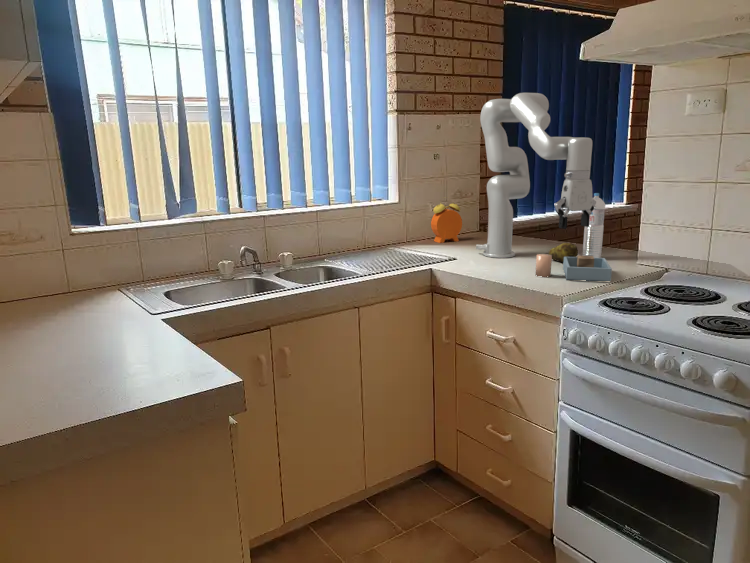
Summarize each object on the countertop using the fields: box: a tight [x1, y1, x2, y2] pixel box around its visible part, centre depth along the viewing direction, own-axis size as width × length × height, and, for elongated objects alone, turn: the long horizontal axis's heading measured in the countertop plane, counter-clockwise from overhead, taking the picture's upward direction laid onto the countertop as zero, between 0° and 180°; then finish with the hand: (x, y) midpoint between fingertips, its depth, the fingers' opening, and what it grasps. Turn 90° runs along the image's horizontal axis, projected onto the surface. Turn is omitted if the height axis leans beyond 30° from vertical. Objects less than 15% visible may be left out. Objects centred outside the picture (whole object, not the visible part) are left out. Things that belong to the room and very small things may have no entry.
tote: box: [562, 256, 613, 282], centre depth 195 cm, size 14×18×4 cm
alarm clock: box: [430, 197, 463, 244], centre depth 262 cm, size 13×6×20 cm, turn 113°
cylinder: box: [534, 253, 553, 278], centre depth 195 cm, size 5×5×7 cm
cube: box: [576, 255, 594, 268], centre depth 198 cm, size 5×5×5 cm
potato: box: [548, 242, 579, 263], centre depth 215 cm, size 8×13×8 cm, turn 1°
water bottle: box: [581, 192, 606, 258], centre depth 219 cm, size 7×7×25 cm
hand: (573, 227), depth 194 cm, fingers open, 9 cm apart
